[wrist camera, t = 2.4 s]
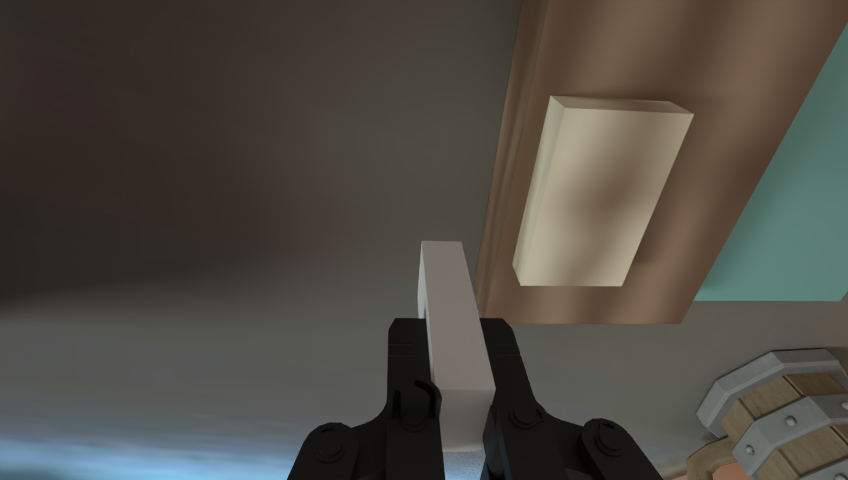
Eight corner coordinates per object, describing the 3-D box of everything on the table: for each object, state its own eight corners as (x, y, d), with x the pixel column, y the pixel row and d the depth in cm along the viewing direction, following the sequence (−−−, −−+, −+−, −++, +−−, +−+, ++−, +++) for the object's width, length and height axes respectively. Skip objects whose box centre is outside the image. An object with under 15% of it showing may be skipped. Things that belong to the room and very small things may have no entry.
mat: (652, 296, 33) (655, 300, 33) (811, -35, 21) (819, -34, 21) (834, 296, 35) (839, 301, 35) (1079, -11, 23) (1092, -11, 22)
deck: (473, 285, 31) (484, 324, 28) (528, -34, 20) (555, -32, 17) (650, 286, 33) (680, 323, 29) (791, -12, 22) (863, -7, 18)
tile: (512, 264, 25) (520, 285, 24) (550, 95, 20) (565, 107, 18) (606, 265, 26) (621, 286, 24) (669, 101, 21) (694, 114, 19)
